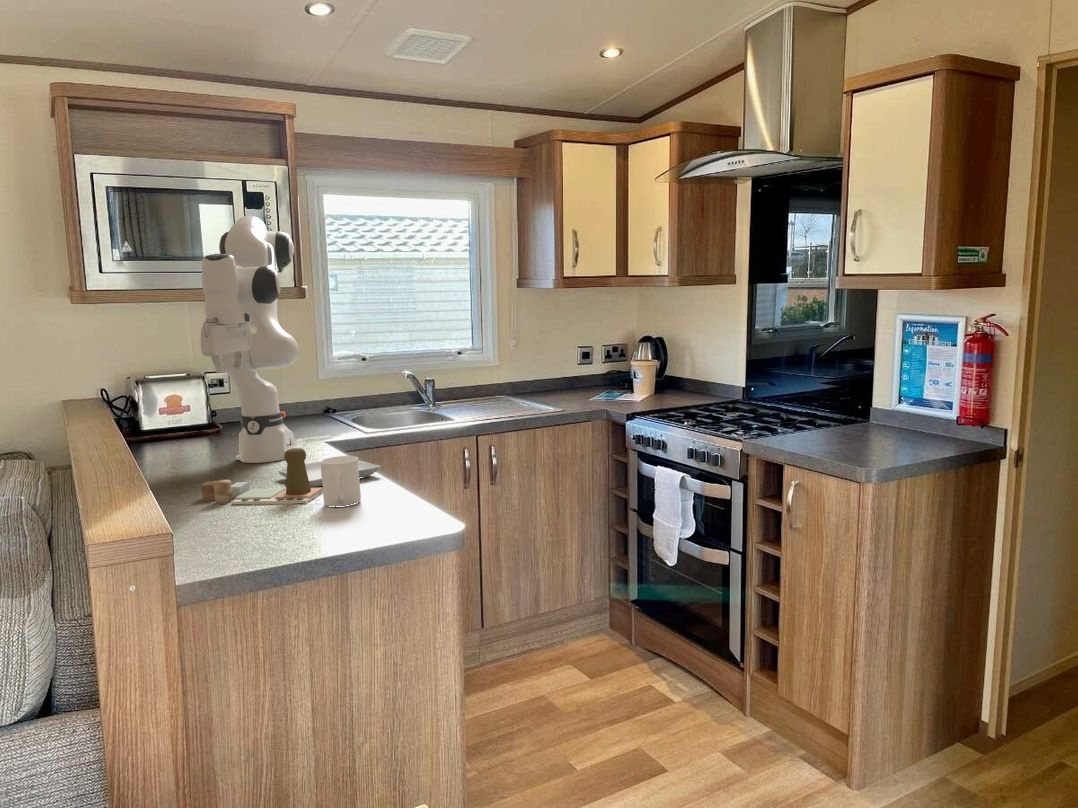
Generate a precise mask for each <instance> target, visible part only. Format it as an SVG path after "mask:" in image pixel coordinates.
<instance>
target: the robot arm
mask: <svg viewBox="0 0 1078 808" xmlns="http://www.w3.org/2000/svg"><path fill="white" fill-rule="evenodd" d="M218 245H219V246H218V250H219V253H214V254H207V255H205V256H204V257H203V258H202V261H201V263H202V264H201V283H202V284H201V285H202V286H201V287H202V292H203V293H204V296H205V297H204V299H205V301H204V314H205V320H204V322H203V324H202V327H201V328H200V350H201V353H202V355H203V356H204V357H211V361H212V363H213V365H214V367H215V369H214V370H215V373H216V374H219V373H221V374H222V373H226V374H227V375H228V376H229V377H230V378H231V380H232V381H233V384H235V386H236V388H237V389H236V390H238V391H237V392H238V397H239V401H240V407H241V409H240V410H241V415H240V424H241V428H242V429H241V431H240V432H239V433H238V450H239V451H238V455H236V456H235V460H237V461H240V462H242V463H246V464H247V463H250V464H254V463H255V464H259V463H260V464H261V463H271V462H277V461H282V460H285V459H284V454H285V452H286V451H287V450H289V449H293V448H301V449H304V447H303V446H302V445H301V446H300V445H296V439H295V435H294V432H293V431H292V430H290V429H289V428H288V427H287V425H285V424H284V419H285V418H286V415H287V414H286V412H285V411H280V404H279V403H280V402H279V391H278V389H277V387H276V386H275V385H274V384H273V383H271V382H269V381H268V380H265V379H263V378H261V376H260V375H259V374H258V371H257V370H269V369H281V368H284V367H289V366H292V365H293V364H294V363H295V362H296V361H297V359H298V357H299V356H298V355H299V345H298V342H297V341H296V339H295V338H294V337H293V335H291V334H289V333H288V332H286V330H284V328H282V326H281V324H280V322H279V319H278V300H279V297H280V294H281V281H280V277H279V273H281V272H283V271H284V268H286V267H287V266H289V264H290V263H291V262H292V260H293V257H294V253H295V245H294V243H293V240H292V237H291V236H290V234H288V233H287V232H283V231H271V230H268V229H267V226H266V224H265V222H263V220H262V219H260V218H258V217H257V216H254V215H244V216H242V217H240V218H238V220H236V221H235V222H234V223H233V224H232V226H231V227H230V229H229V230H228V231H226V232H224V233H223V234H222V235H221V237H220V241H219V243H218ZM237 266H239V267H237ZM278 272H279V273H278ZM252 328H253V329H254V330H256V332H253V333H252ZM283 418H284V419H283Z"/></svg>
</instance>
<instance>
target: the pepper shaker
mask: <svg viewBox="0 0 1078 808" xmlns="http://www.w3.org/2000/svg"><path fill="white" fill-rule="evenodd" d="M306 459H307V453H306V451H305V449H304V448H303V449H301V448H293V449H289V450H287V451H286V452H285V454H284V459H283V460H285V462H286V468H287V478H286V477H285V479H286V481H285V482H286V483H285V484H286V485H285V490H286V494H287V495H302V494H306V493H309V492H311V488H312V487H311V486H310V484H309V480H308V475H307V471H306V466H305V464H306V462H305V460H306Z"/></svg>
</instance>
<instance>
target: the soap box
mask: <svg viewBox="0 0 1078 808" xmlns="http://www.w3.org/2000/svg"><path fill="white" fill-rule="evenodd" d="M231 489H232V499H236V497H238V496H239V495H241V494H243V493H245V492H247V491H249V490H250V482H249V481H242V482H241V481H237V482H235V483H233V484H231Z"/></svg>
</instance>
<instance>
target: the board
mask: <svg viewBox="0 0 1078 808" xmlns="http://www.w3.org/2000/svg"><path fill="white" fill-rule="evenodd" d="M310 488H311V492H309V493H306V494H302V495H287V494H286V487H279V488H276V487H275V488H274V487H273V488H251V489H250V488H249V491H247V492H245V493H243V494H241V495H239V496H238V497H236V498H234V499H233V501H232V502H230V504H231V505H232V504H251V505H297V503H307V504H308V503H310V502H311V501H313V500H314V499H315V497H316V496H317V497H318V495H319V494H320V495H321V493H322V492H323V487H310ZM322 494H323V493H322ZM320 495H319V496H320ZM317 497H316V498H317ZM313 498H314V499H313ZM312 499H313V500H312ZM309 501H310V502H309ZM295 503H296V504H295Z"/></svg>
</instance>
